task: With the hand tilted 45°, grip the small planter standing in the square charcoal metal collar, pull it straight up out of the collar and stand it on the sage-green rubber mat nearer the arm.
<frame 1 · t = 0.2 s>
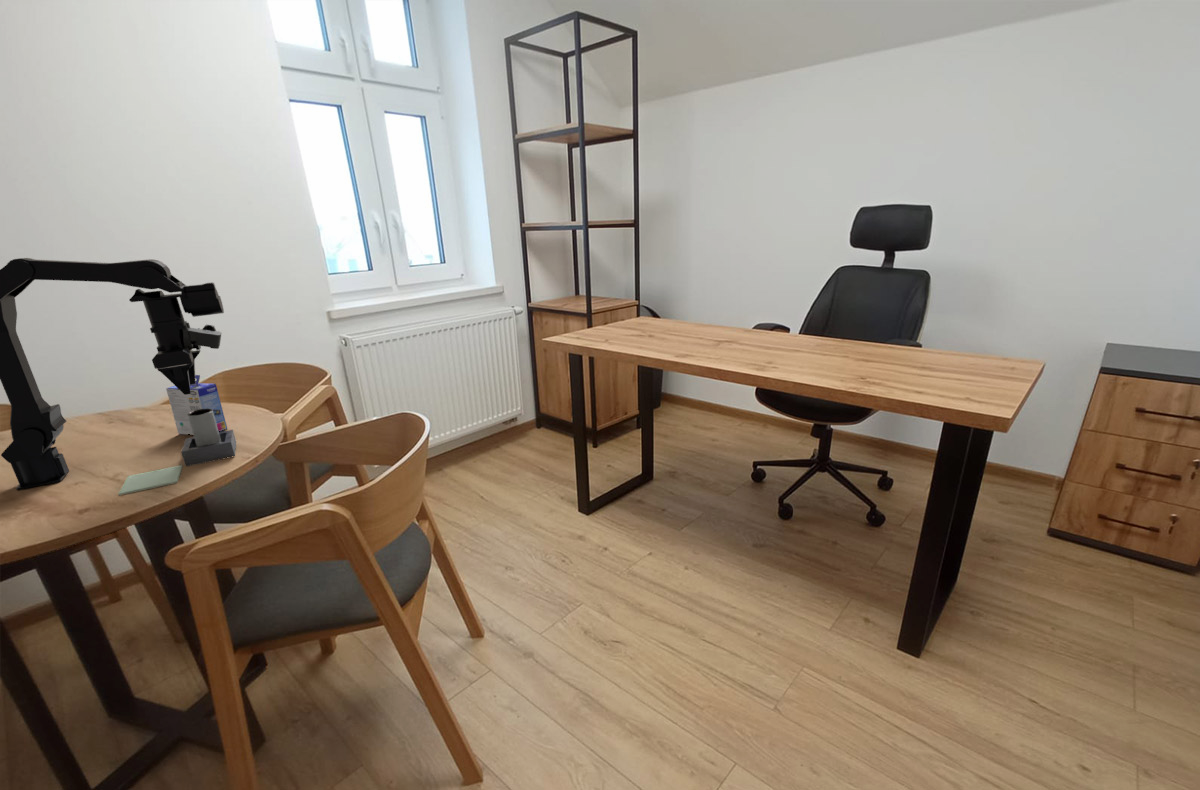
hand: (190, 388, 117), 15 cm above the table, tool pointing down, fingers open, 9 cm apart
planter: (212, 455, 118), resting in collar
ink cartridge box: (204, 432, 132), on the table
collar: (212, 454, 118), on the table
mat: (152, 480, 107), on the table
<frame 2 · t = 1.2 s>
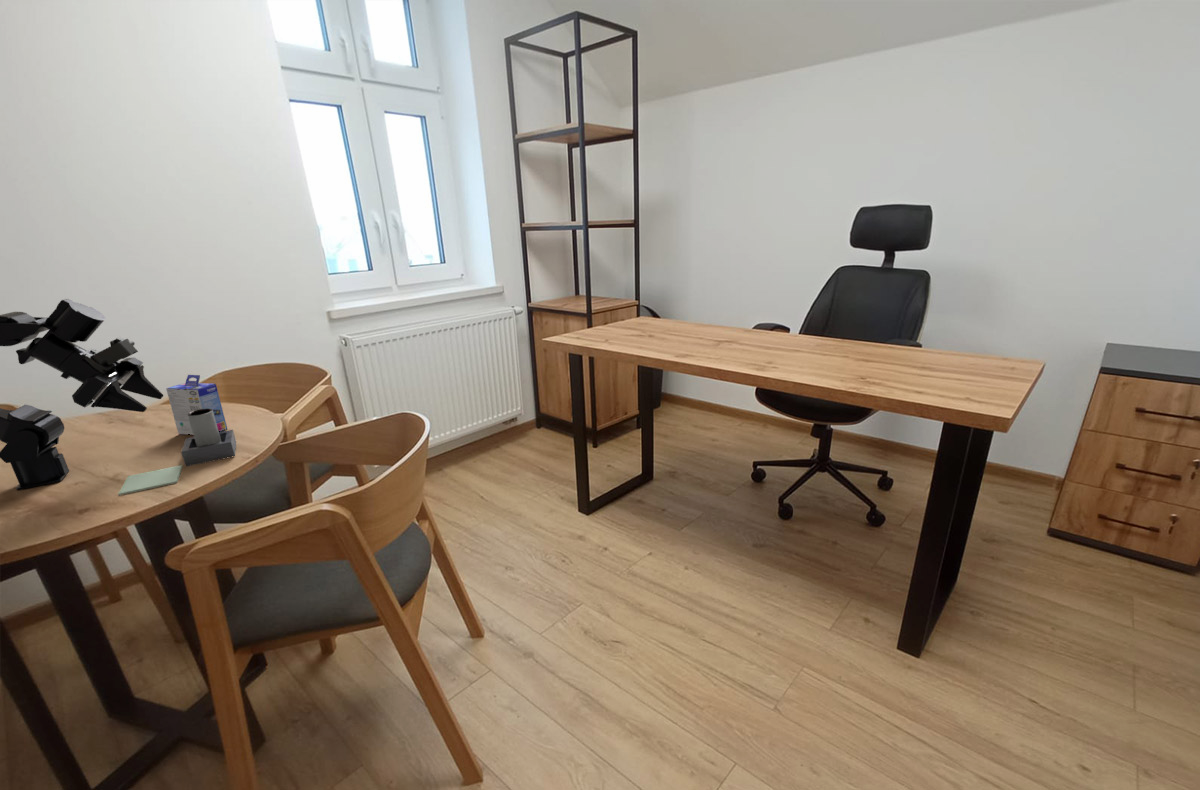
hand: (154, 403, 112), 13 cm above the table, tool tilted 45°, fingers open, 9 cm apart
nothing on the table moved.
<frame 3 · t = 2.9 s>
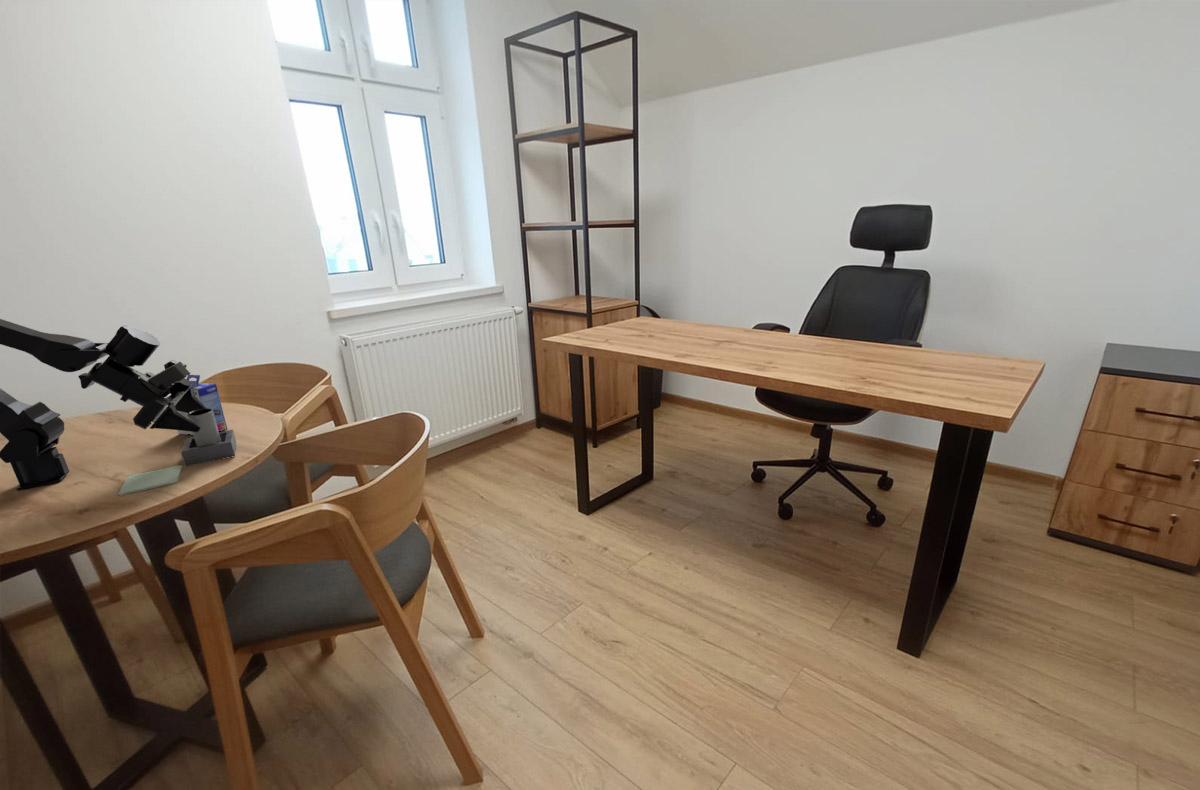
hand: (205, 423, 116), 8 cm above the table, tool tilted 45°, fingers open, 9 cm apart
nothing on the table moved.
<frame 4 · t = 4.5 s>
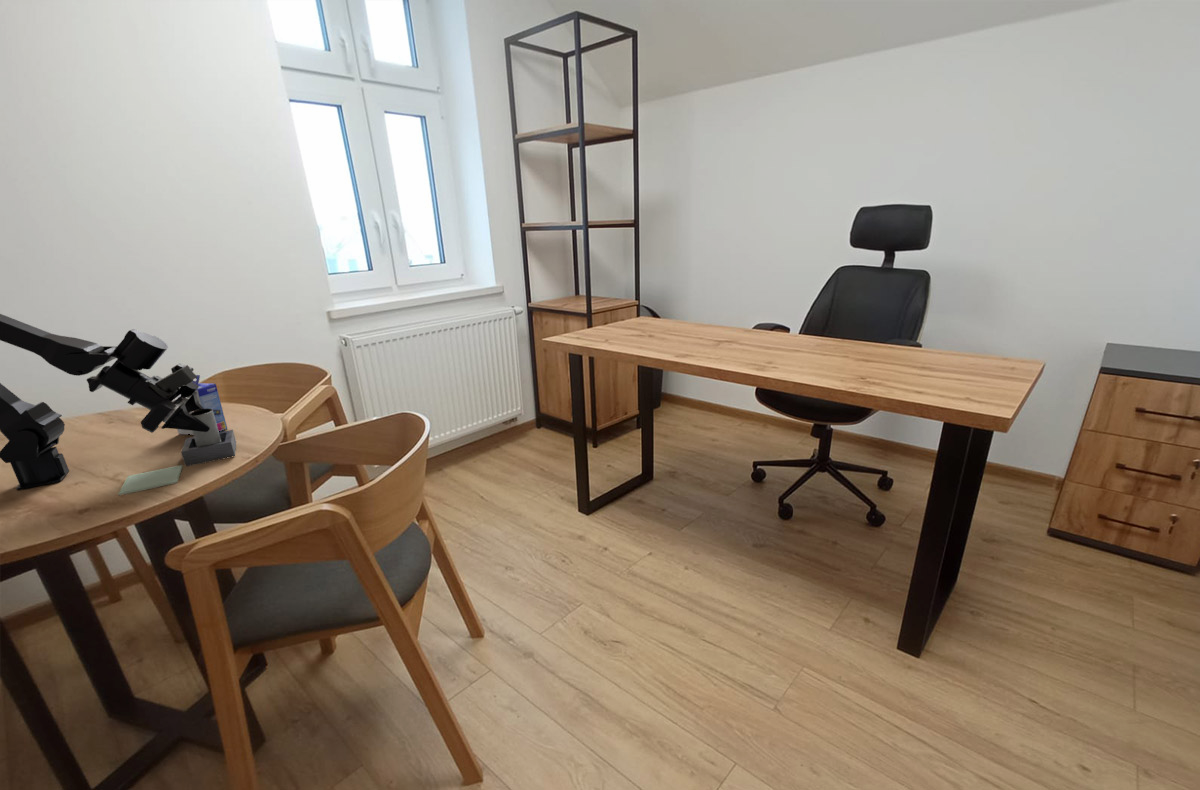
hand: (212, 426, 117), 7 cm above the table, tool tilted 45°, fingers closed on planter, 4 cm apart
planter: (212, 455, 118), resting in collar, touching gripper
everything else where it was.
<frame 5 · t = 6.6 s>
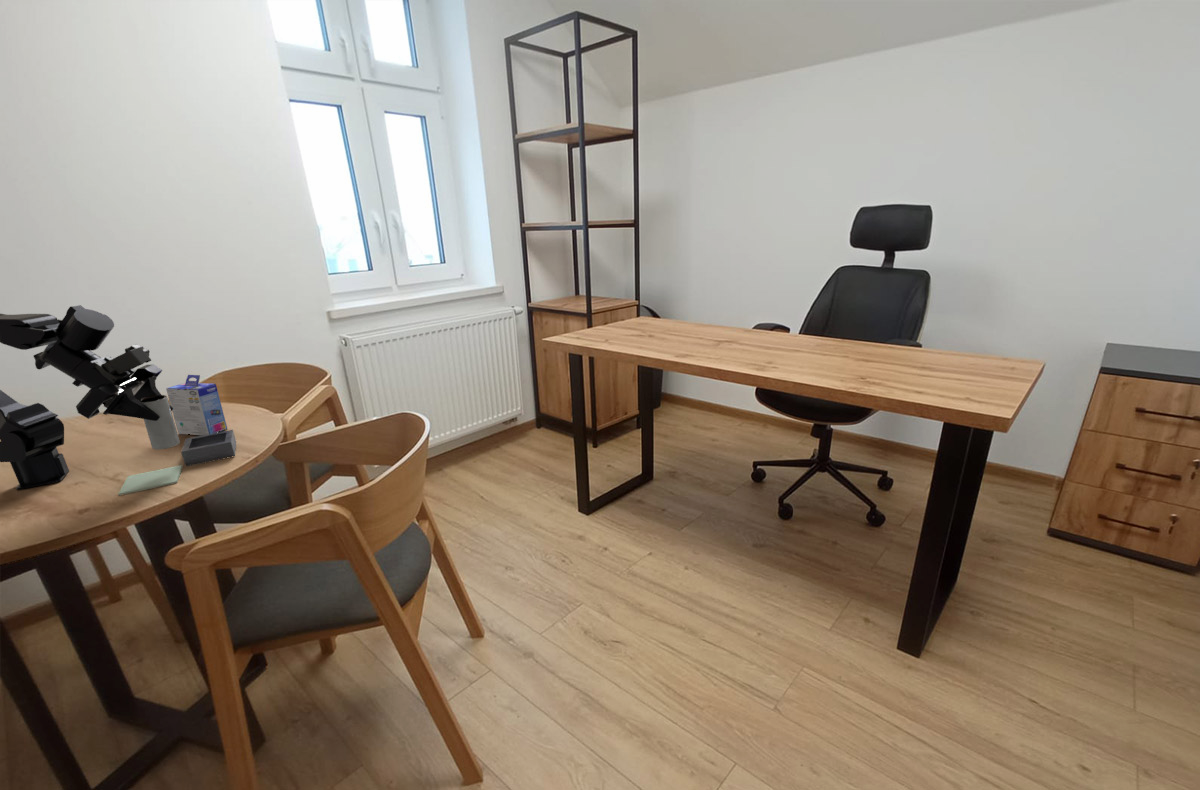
hand: (165, 414, 107), 13 cm above the table, tool tilted 45°, fingers closed on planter, 4 cm apart
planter: (166, 446, 109), point 6 cm above the table, touching gripper
everything else where it was.
when the fingers open (8 cm above the table, at t = 8.8 s): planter stays where it is, resting on mat.
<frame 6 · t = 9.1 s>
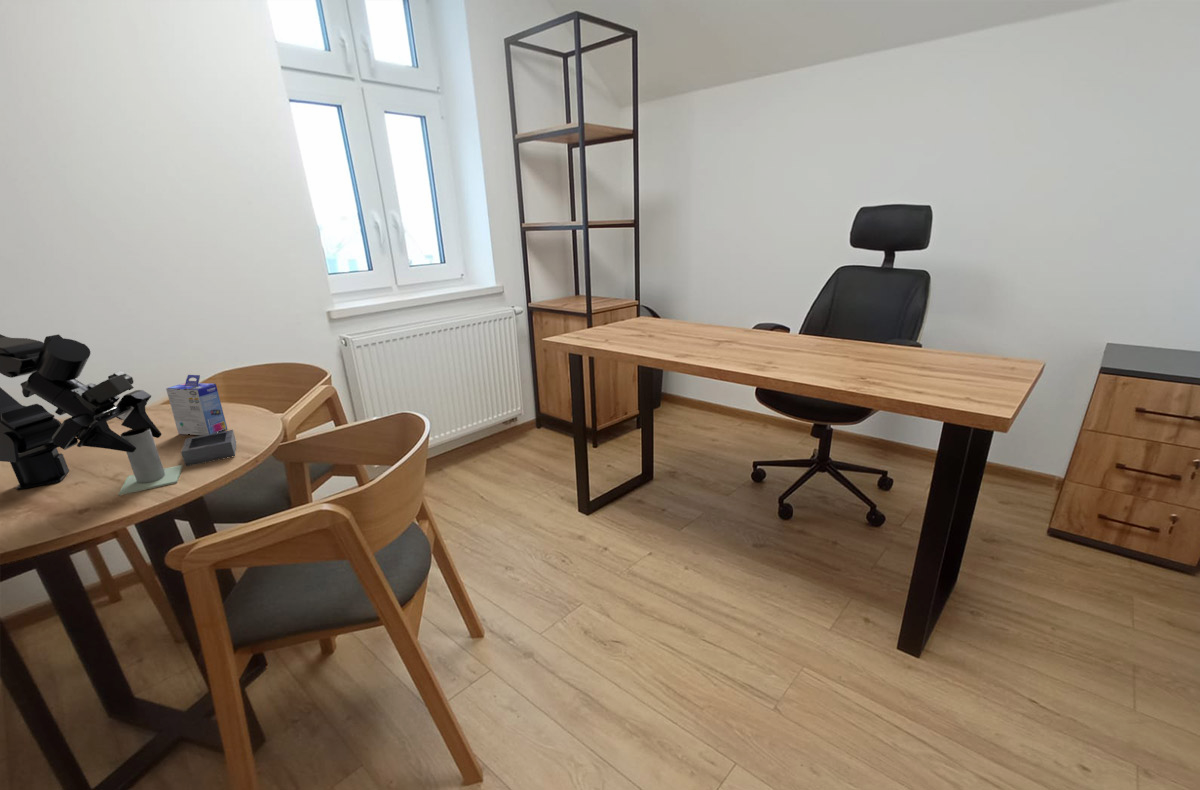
hand: (147, 443, 104), 8 cm above the table, tool tilted 45°, fingers open, 7 cm apart
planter: (151, 479, 107), resting on mat
everything else where it was.
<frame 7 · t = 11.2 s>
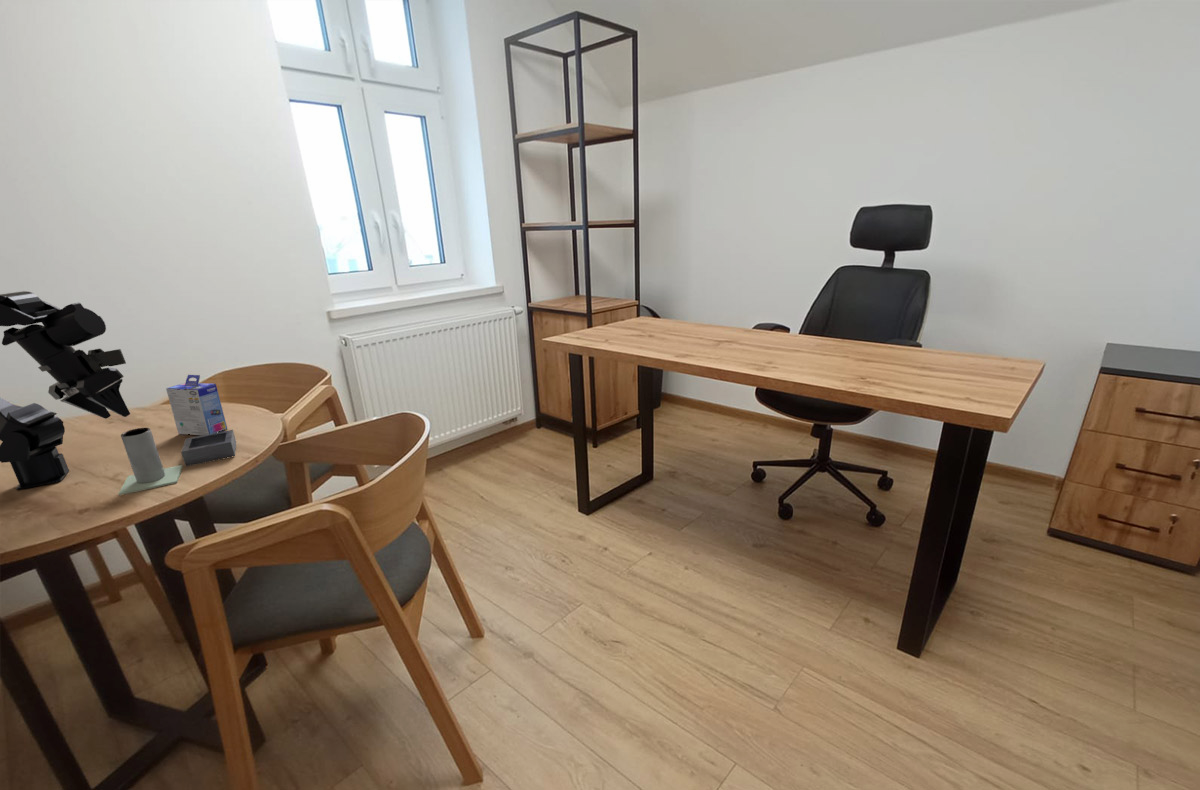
hand: (117, 416, 109), 12 cm above the table, tool tilted 20°, fingers open, 9 cm apart
nothing on the table moved.
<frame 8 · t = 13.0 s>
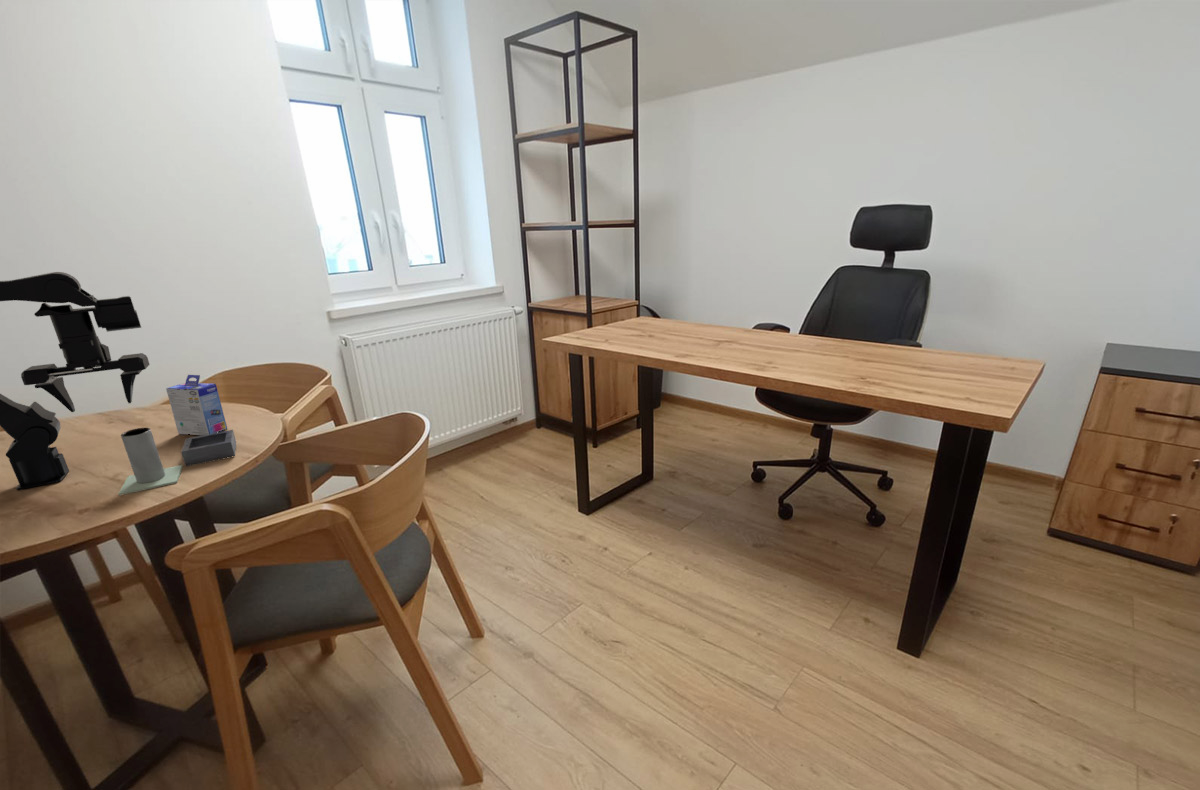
hand: (102, 407, 112), 13 cm above the table, tool pointing down, fingers open, 9 cm apart
nothing on the table moved.
at the end: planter inside the target area on the mat (0.1 cm from its centre), point 0.2 cm above the mat's base; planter tilted 0°; the gripper is holding nothing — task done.
